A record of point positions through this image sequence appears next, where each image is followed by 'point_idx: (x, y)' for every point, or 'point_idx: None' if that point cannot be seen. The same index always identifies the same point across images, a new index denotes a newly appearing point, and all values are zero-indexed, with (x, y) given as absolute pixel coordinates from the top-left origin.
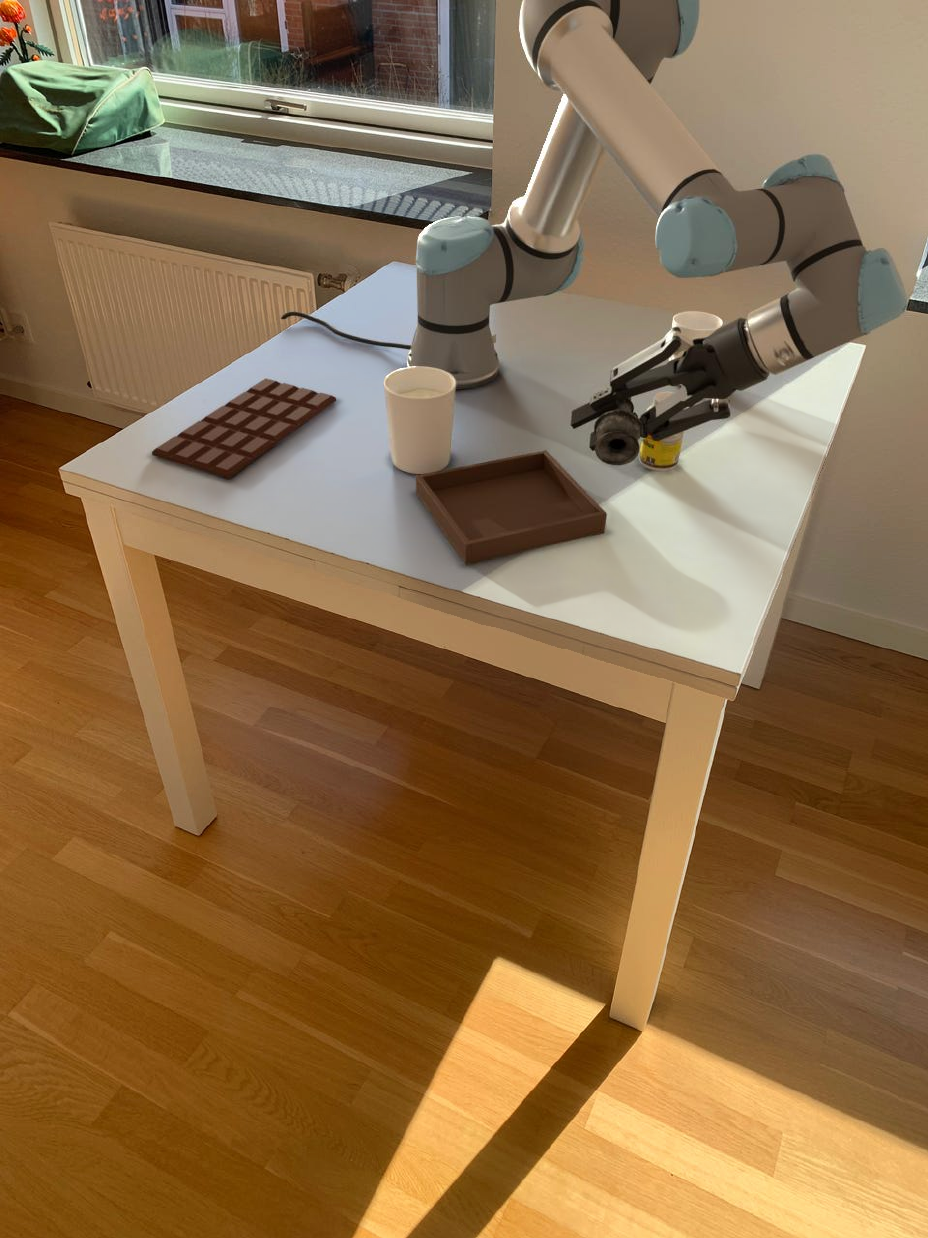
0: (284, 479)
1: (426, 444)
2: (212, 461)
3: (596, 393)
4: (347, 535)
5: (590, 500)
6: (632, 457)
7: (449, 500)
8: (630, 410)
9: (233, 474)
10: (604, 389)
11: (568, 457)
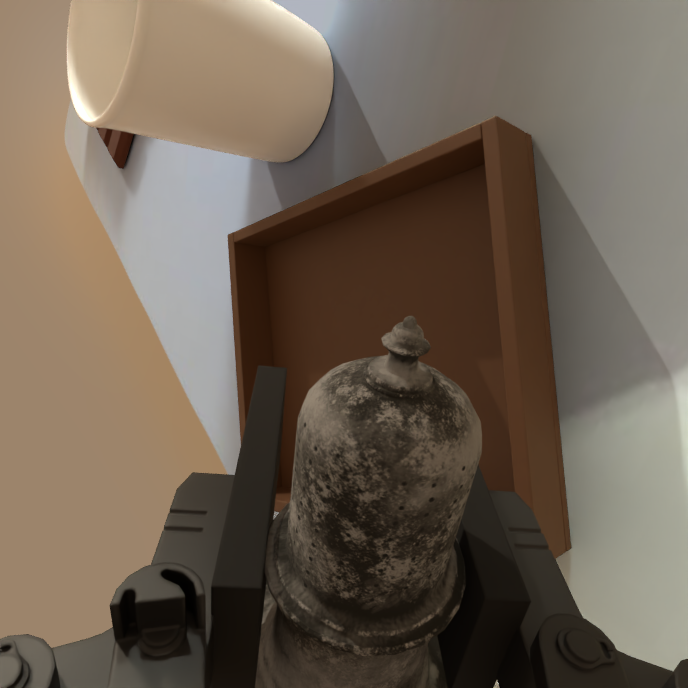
0: (158, 170)
1: (223, 149)
2: (107, 133)
3: (171, 510)
4: (189, 342)
5: (516, 477)
6: None
7: (294, 284)
8: (376, 675)
9: (124, 159)
10: (155, 558)
11: (649, 43)
